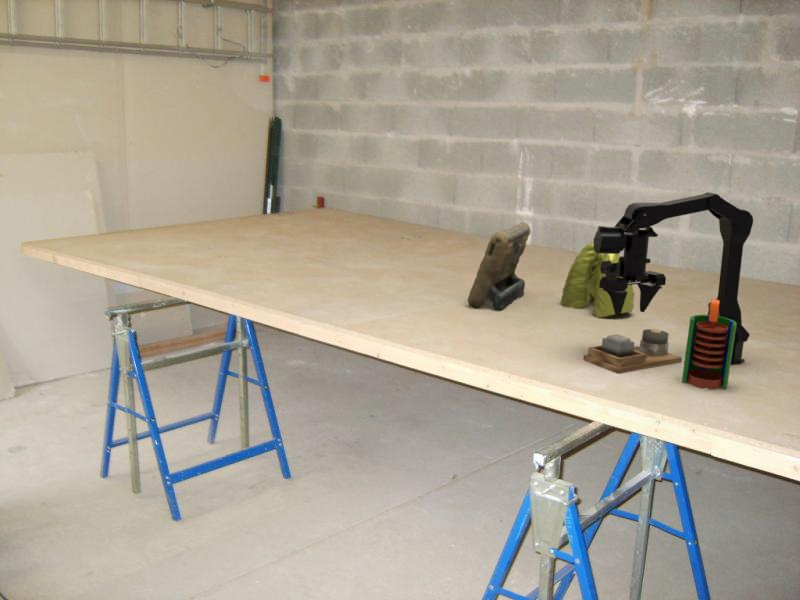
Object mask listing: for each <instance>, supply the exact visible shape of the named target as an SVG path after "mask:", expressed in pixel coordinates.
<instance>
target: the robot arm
mask: <svg viewBox="0 0 800 600" xmlns="http://www.w3.org/2000/svg"><path fill="white" fill-rule="evenodd" d="M706 211H708V212H709V213H710V214H711V215H713V216H714V217H715V219H717V220H718V225H719V232H720V236H721V240H722V244H723V246H722V254H721V262H720V274H719V283H718V291H717V297H716V299H715V300H719V310H718V316H720V317H724V318H728V319H731V320H733V321H735V322H736V323H737V324H736V331H735V338H734V345H733V351H732V358H731V365H733V364H738V363H743V362H745V361H746V360H745V359H744V358H742V356H743V350H744V344H745V343H746V342H747V341H748V339H749V337H750V333H749V332H748V331H747V329H746V328H745V327H744V326H743V325H742V324H743V323H742V310H741V306H740V304H739V300H738V296H739V287H740V280H741V279H740V277H741V268H742V260H743V252H744V251H743V250H744V245H745V243H746V241H747V240H748V238H749V237H750V235H751V231H752V227H753V225H754V216H753V215H752V214H751V212H750V211H748V210H746V209H742V208H738V207H737V206H735V205H733V204H732V203H731V202H728V201H727V200H725V199H724V198H723V197H721V196H720V194H718V193H713V192H709V191H708V192H704V193H702V194H697V195H694V196H693V195H692V196H687V197H684V198H683V197H682V198H678V199H673V200H668V201H663V202H633V203H631V204H628V206H627V207H626V208H625V210H624V214H623V216H622V217H621V218H620V219H619V220H618V222H617V223H616V224H615V225H614V226H605V225H599V226H597V231H596V232H595V236H594V237H593V241H592V242H593V244H594V251H595V253H601V254H603V255H604V254H619V255H620V254H621V252H623V256H621V255H620V258H619V262H618V263H611V261H610V260H609V261H603V262H601V267H600V269H601V273H602V274H605V276H606V277H602V278H601V279H600V283H599V288H602V289H603V291H606V292H607V293H608V294H609V295H610V298H611V301H612V304H613V308H614V312H615V316H616V317H620V316H621V314H622V313H621V311H622V308H623V305H624V302H625V299H626V295H627V291H625V290H626V289H627V287H628V285H632V286H633V285H637V287H638V289H639V291H640V292H639V293H640V294H639V312H641V313H645V311H646V310H647V308H648V307H649V305H650V303H651V302H652V301H653V299H654V298H655V296H656V294H657V293H658V292H659V291H660V290H661V289H662V287H663V286H665V285H666V281H667V277H666V275H664V274H665V273H661V272H657V271H652V270H648V271H647V264H649V263H651V258H649V257H648V251H649V241H650V238H657V237H658V236H659V235H658V233H657V232H656V231H655V230H654V229H653V227H652V226H656V225H657V224H659V223H661V222H662V221H665V220H668V219H671V218H675V217H676V218H677V217H681V216H686V215H692V214H695V213H701V212H706ZM615 276H617V277H615ZM620 277H622V278H620ZM629 281H630V282H629ZM710 303H711V302H708V311H707V314H706V315H709V314H710Z"/></svg>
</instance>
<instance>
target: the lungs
mask: <svg viewBox="0 0 800 600" xmlns="http://www.w3.org/2000/svg"><path fill="white" fill-rule="evenodd" d="M593 242H594V241H592V242H590V243H588V244H586V245H585V246H583V248H582V249H581V250H580V252H579V253H578V255H577V256H575V257H576V258H575V259H574V261H573V263H572V264H571V266H570V269H569V270H568V273H567V277H566V280H565V282H564V286H563V288H562V295H561V298H560V303H561V305H562V307H565V306H567V307H566V308H568V307H569V308H570V307H573V308H572V309H582V308H585V307H587V305H588V303H589V302H592V303H593V309H592V314H594V317H596V318H597V317H598V318H603V317H608V316H614V315H615V312H614V308H613V304H612V301H611V298H610V295H609V294H608V293H607V292H606V291H603V289H602V288H599V283H600V279H601V278H602V277H606V276H605V274H602V273H601V269H600V267H601V262H603V261H609V260H610V261H611V263H618V262H619V258H620V257H621V255H620V253H619V254H604V253H595V251H594V244H593ZM615 277H617V276H615ZM620 278H622V277H620ZM629 282H630V281H629ZM625 291H627V295H626V299H625V302H624V305H623V308H622V311H621V314H625V313H631V312H632V311H633V310H634V307H635V305H634V304H635V302H634V301H635V292H634V286H633V285H628V287H627V289H626V290H625ZM615 316H616V315H615Z"/></svg>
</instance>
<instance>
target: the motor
mask: <svg viewBox="0 0 800 600" xmlns="http://www.w3.org/2000/svg"><path fill="white" fill-rule="evenodd" d="M709 303H710V314H709V315H707V314H695V315H691V316H690V318H689V324H688V325H689V326H688V332H687V333H688V334H687V340H686V346H685V347H686V349H685V356H684V361H683V362H684V363H683V364H684V365H683V369H682V379H681V382H682V383H684V384H686V383H688V385H691V386H692V385H693V386H692V387H695V386H696V387H695V388H698V387H699V389H703V388H708V389H707V390H717V389H716V388H719V389H721V388H724V389H723V390H727V389H728V384H729V376H730V372H731V365H732V364H731V358H732V351H733V345H734V338H735V331H736V324H737V323H736V322H735V321H733V320H731V319H728V318H724V317H720V316H718V310H719V300H716V299H714V298H713V299H712V298H711V300H710V302H709ZM721 386H722V387H721ZM720 387H721V388H720ZM726 388H727V389H726Z"/></svg>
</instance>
